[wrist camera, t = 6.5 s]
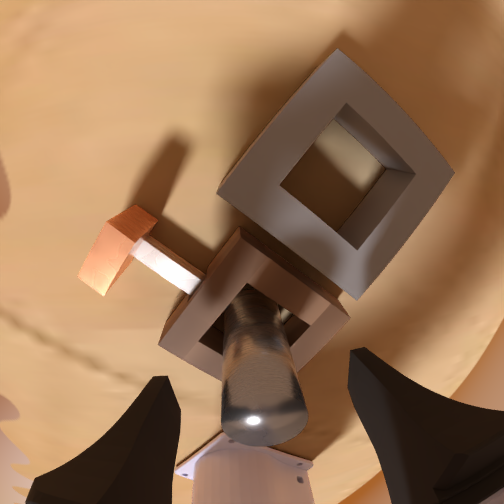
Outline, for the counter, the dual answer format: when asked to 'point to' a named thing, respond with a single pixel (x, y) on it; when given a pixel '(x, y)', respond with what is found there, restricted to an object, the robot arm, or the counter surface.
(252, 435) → the rounded metal peg
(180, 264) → the pin
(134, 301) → the counter surface
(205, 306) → the socket block
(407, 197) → the block
